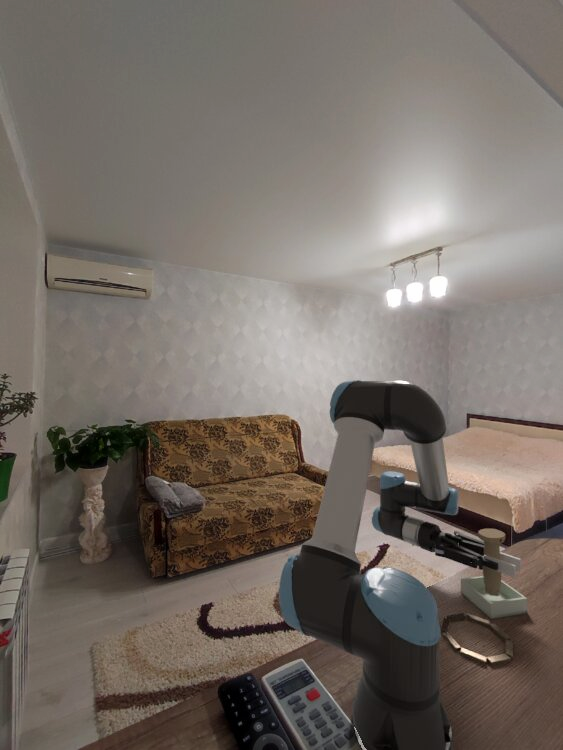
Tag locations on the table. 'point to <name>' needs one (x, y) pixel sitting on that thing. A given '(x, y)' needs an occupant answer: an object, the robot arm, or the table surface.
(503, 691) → the table surface
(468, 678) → the table surface
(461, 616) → the collar ring
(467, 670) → the table surface
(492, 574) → the handle
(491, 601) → the bin
